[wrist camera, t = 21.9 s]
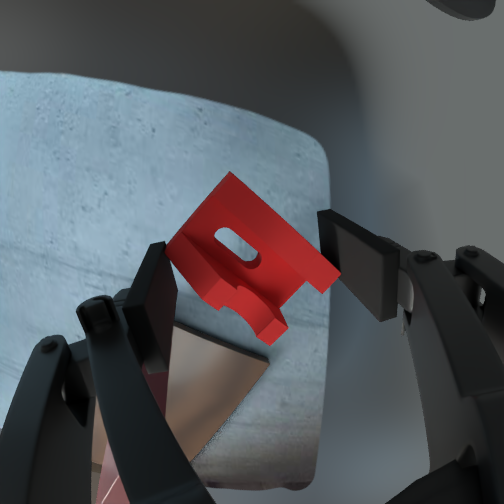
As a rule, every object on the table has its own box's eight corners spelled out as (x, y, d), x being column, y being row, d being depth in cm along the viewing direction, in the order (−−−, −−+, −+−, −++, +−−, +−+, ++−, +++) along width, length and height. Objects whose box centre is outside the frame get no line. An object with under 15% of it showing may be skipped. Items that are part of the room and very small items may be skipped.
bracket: (319, 252, 17) (341, 273, 14) (259, 315, 18) (269, 345, 15) (229, 171, 15) (236, 177, 12) (166, 245, 16) (159, 268, 13)
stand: (268, 358, 34) (270, 364, 33) (169, 480, 40) (169, 485, 39) (122, 296, 29) (120, 300, 28) (68, 446, 35) (67, 451, 34)
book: (172, 340, 30) (162, 477, 15) (136, 406, 32) (121, 523, 17) (149, 329, 29) (124, 466, 14) (116, 398, 32) (93, 515, 17)
